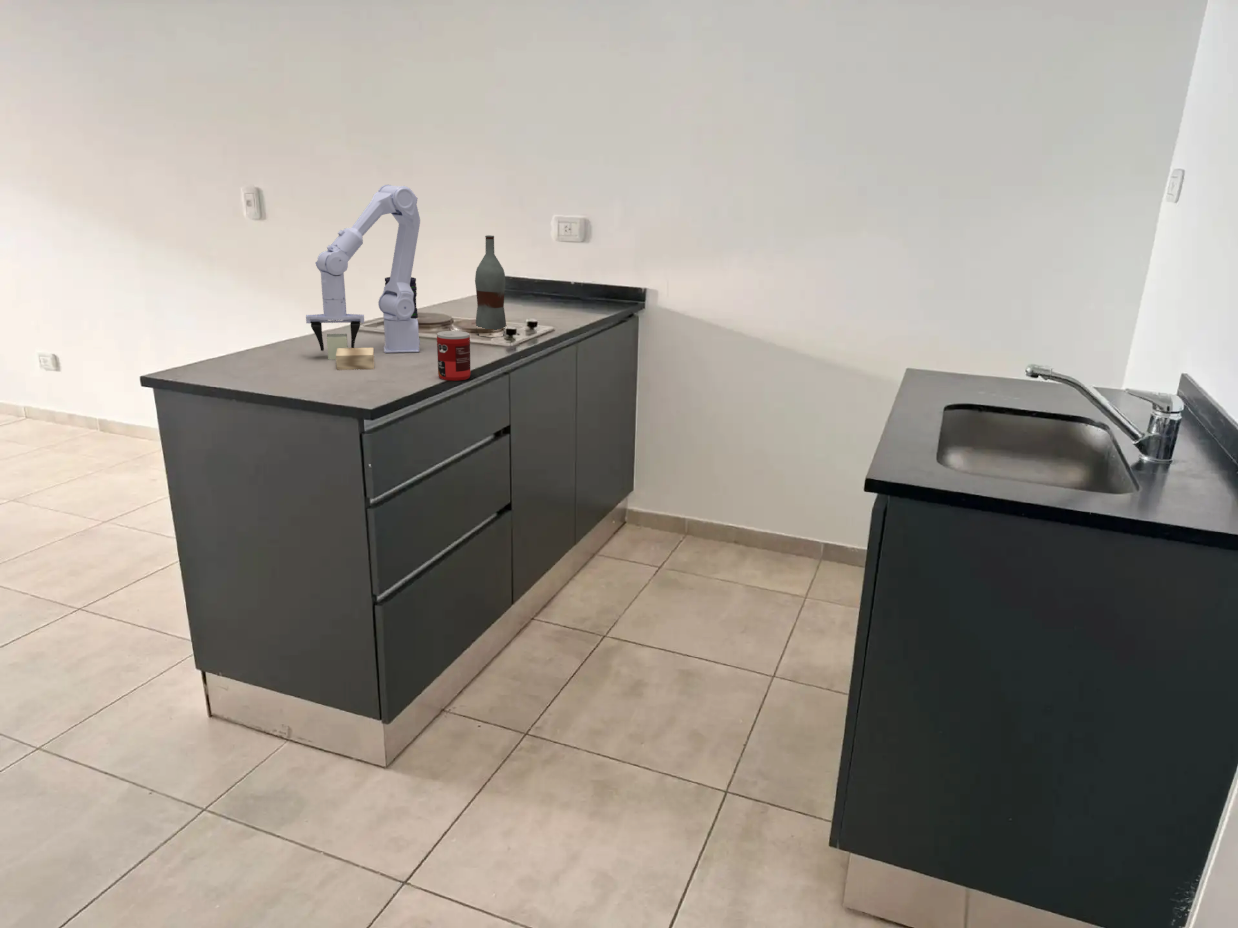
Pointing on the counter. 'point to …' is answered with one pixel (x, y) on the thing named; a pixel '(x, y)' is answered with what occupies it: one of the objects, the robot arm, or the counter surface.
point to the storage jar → (414, 288)
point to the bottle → (490, 290)
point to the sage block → (335, 344)
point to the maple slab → (354, 358)
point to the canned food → (453, 355)
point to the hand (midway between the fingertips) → (337, 349)
